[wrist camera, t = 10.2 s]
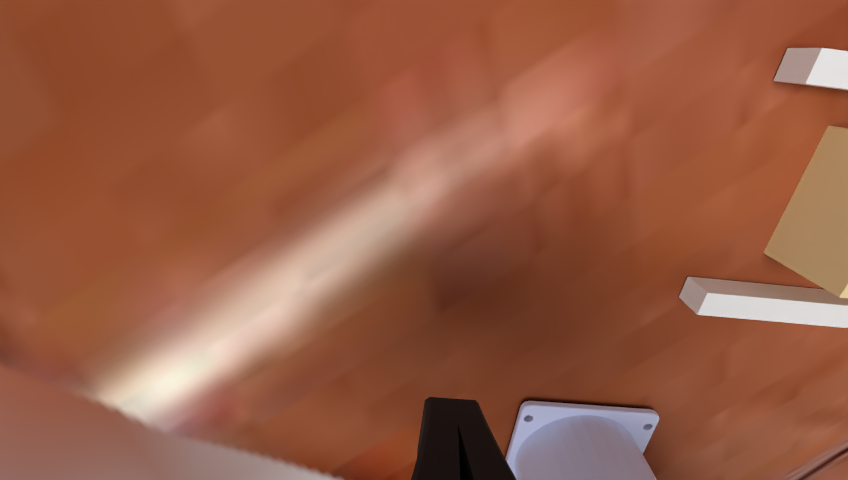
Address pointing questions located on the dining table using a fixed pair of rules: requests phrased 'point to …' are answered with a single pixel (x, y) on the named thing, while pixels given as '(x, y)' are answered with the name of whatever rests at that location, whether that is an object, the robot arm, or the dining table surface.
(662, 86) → the dining table surface
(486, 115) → the dining table surface
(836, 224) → the block
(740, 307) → the end holder
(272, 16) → the dining table surface
